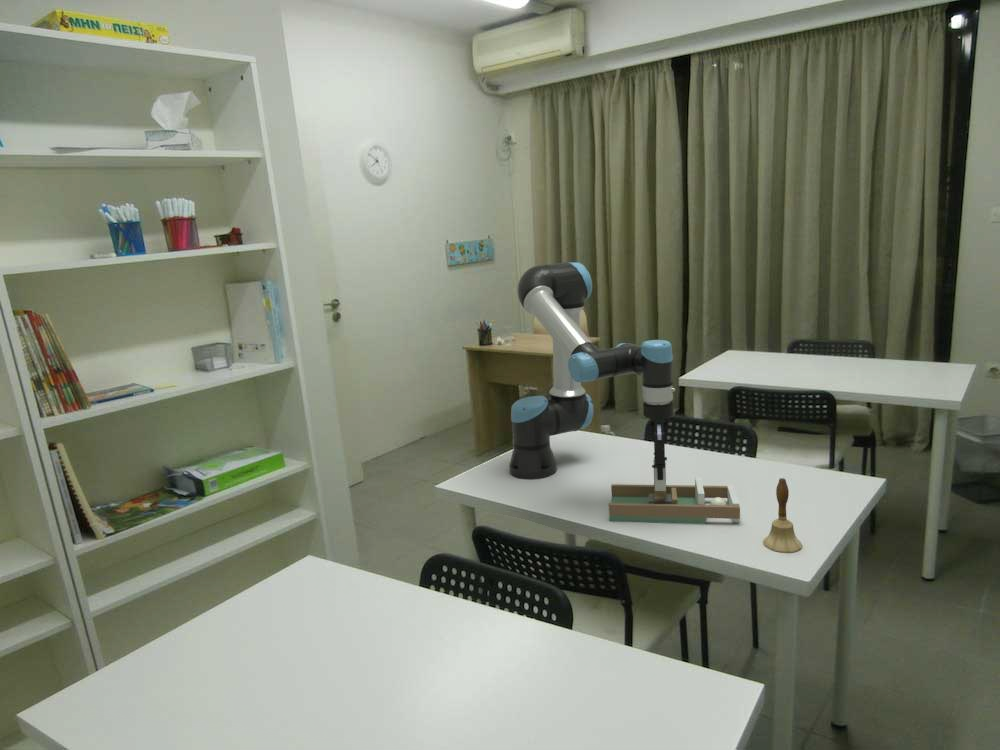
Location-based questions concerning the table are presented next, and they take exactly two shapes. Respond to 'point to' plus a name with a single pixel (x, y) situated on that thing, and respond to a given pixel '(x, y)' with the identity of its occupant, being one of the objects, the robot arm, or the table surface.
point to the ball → (718, 501)
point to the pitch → (690, 506)
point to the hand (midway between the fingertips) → (660, 487)
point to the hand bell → (782, 525)
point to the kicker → (663, 495)
